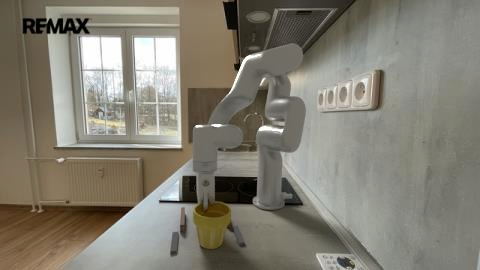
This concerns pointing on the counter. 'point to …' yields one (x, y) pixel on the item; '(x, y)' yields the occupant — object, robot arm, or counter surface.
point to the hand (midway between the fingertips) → (204, 222)
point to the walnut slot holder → (182, 220)
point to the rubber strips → (175, 239)
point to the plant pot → (211, 223)
